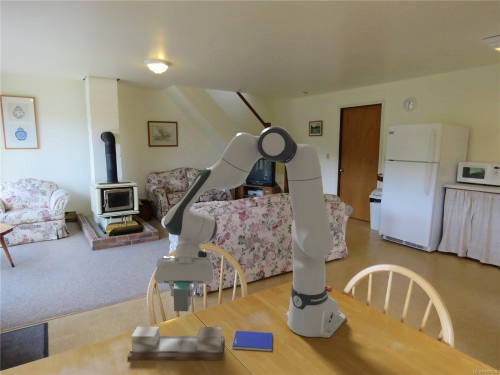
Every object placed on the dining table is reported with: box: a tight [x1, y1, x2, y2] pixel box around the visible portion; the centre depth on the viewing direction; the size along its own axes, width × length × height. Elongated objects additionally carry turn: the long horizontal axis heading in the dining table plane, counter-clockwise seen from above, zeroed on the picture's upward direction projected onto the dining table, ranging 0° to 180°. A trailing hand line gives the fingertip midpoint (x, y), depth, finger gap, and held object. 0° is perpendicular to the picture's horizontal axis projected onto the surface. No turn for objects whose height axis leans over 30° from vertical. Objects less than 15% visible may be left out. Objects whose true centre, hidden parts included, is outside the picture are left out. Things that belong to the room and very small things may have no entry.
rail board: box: [127, 326, 225, 361], centre depth 98 cm, size 28×10×6 cm, turn 90°
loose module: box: [173, 281, 192, 312], centre depth 105 cm, size 4×5×8 cm
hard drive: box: [231, 330, 273, 352], centre depth 103 cm, size 2×8×12 cm
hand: (181, 296), depth 104 cm, fingers closed on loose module, 4 cm apart
